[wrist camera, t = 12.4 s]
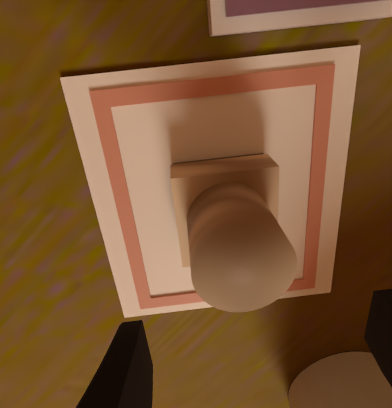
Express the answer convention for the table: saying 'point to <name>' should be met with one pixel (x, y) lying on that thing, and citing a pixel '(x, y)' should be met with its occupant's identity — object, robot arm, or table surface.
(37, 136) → the table surface
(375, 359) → the robot arm
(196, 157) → the marked sheet
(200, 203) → the stamp
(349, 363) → the reusable coffee cup
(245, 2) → the ink pad
